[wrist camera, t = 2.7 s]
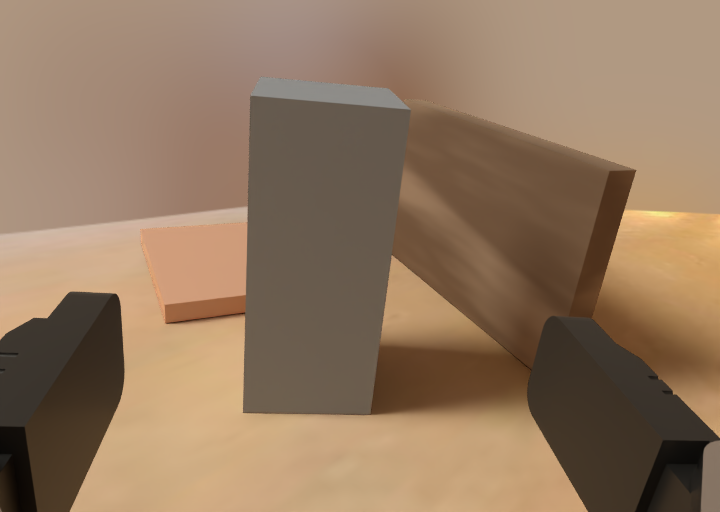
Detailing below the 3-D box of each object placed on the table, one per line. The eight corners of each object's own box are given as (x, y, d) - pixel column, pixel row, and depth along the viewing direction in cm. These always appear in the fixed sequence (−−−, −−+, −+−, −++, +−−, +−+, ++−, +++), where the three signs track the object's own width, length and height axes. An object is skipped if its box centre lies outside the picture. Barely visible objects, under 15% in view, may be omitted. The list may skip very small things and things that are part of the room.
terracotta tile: (292, 232, 40) (293, 219, 39) (352, 297, 32) (354, 282, 31) (141, 244, 35) (140, 229, 35) (165, 323, 27) (164, 304, 27)
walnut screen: (404, 246, 39) (424, 100, 35) (573, 378, 26) (636, 170, 22) (385, 248, 39) (404, 99, 35) (549, 384, 26) (609, 170, 22)
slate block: (253, 340, 27) (260, 76, 22) (357, 343, 27) (387, 87, 23) (243, 412, 22) (250, 95, 17) (370, 414, 23) (410, 109, 18)
